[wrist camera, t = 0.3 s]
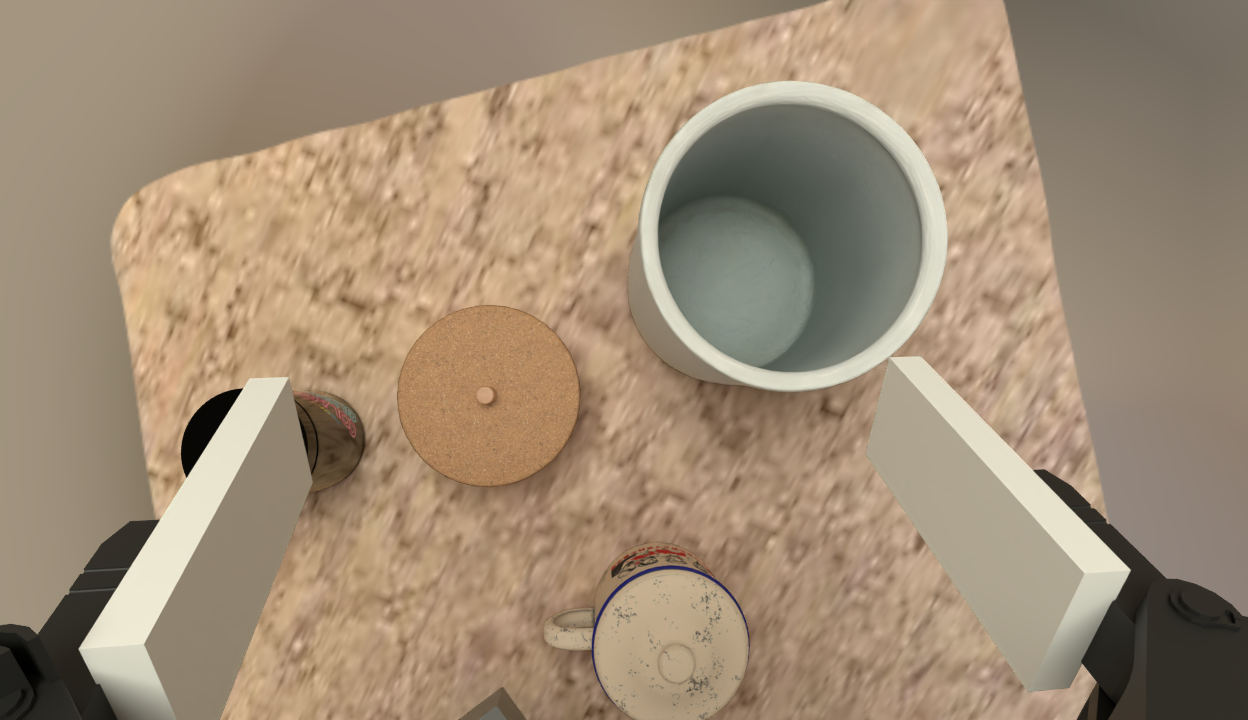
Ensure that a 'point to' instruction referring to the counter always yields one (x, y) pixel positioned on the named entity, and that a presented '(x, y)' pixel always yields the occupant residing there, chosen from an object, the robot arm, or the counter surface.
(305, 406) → the supplement container
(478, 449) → the lidded jar
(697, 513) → the counter surface
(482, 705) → the switch panel
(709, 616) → the teacup with lid
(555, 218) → the counter surface
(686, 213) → the utensil holder
